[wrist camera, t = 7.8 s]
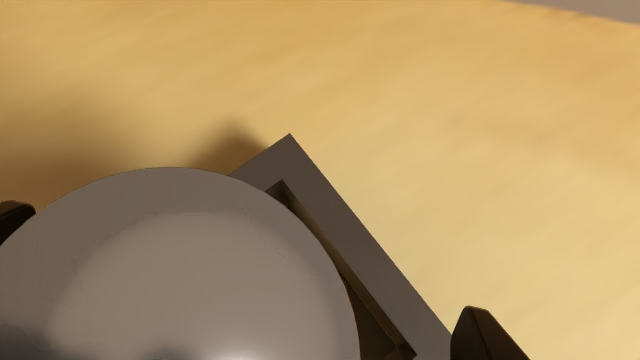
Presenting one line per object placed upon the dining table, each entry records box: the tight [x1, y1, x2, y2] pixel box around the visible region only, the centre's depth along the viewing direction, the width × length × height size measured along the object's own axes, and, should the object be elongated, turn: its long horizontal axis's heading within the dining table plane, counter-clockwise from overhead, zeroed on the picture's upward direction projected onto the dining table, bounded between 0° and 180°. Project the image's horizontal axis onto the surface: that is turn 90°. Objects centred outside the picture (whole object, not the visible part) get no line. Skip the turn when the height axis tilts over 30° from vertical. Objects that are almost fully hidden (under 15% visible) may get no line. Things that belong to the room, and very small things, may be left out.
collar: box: [228, 133, 452, 360], centre depth 15 cm, size 9×9×4 cm
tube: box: [0, 167, 360, 360], centre depth 11 cm, size 5×5×12 cm
